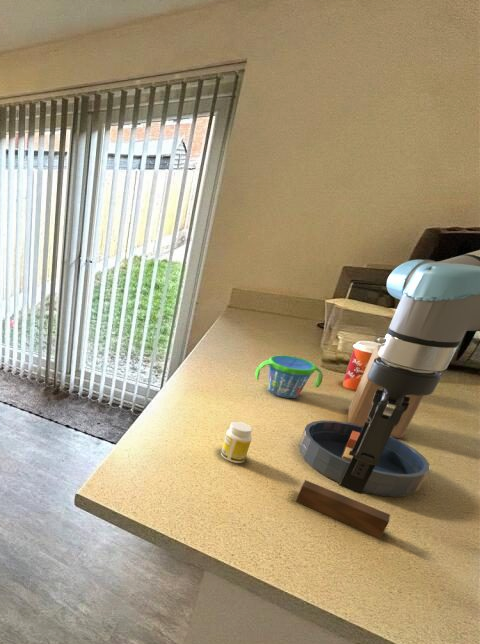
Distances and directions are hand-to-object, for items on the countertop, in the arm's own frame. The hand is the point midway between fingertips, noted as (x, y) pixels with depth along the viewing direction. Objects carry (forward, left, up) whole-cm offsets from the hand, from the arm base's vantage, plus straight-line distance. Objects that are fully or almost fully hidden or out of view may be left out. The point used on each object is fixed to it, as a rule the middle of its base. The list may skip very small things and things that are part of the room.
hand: (355, 470), depth 70 cm
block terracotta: (0, -26, -10) cm, 27 cm away
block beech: (0, -17, -10) cm, 19 cm away
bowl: (0, -21, -11) cm, 24 cm away
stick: (0, 0, -11) cm, 11 cm away
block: (-1, -46, -11) cm, 47 cm away
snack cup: (+19, -49, -11) cm, 54 cm away
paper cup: (+5, -69, -11) cm, 70 cm away
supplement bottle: (+19, -5, -11) cm, 22 cm away
